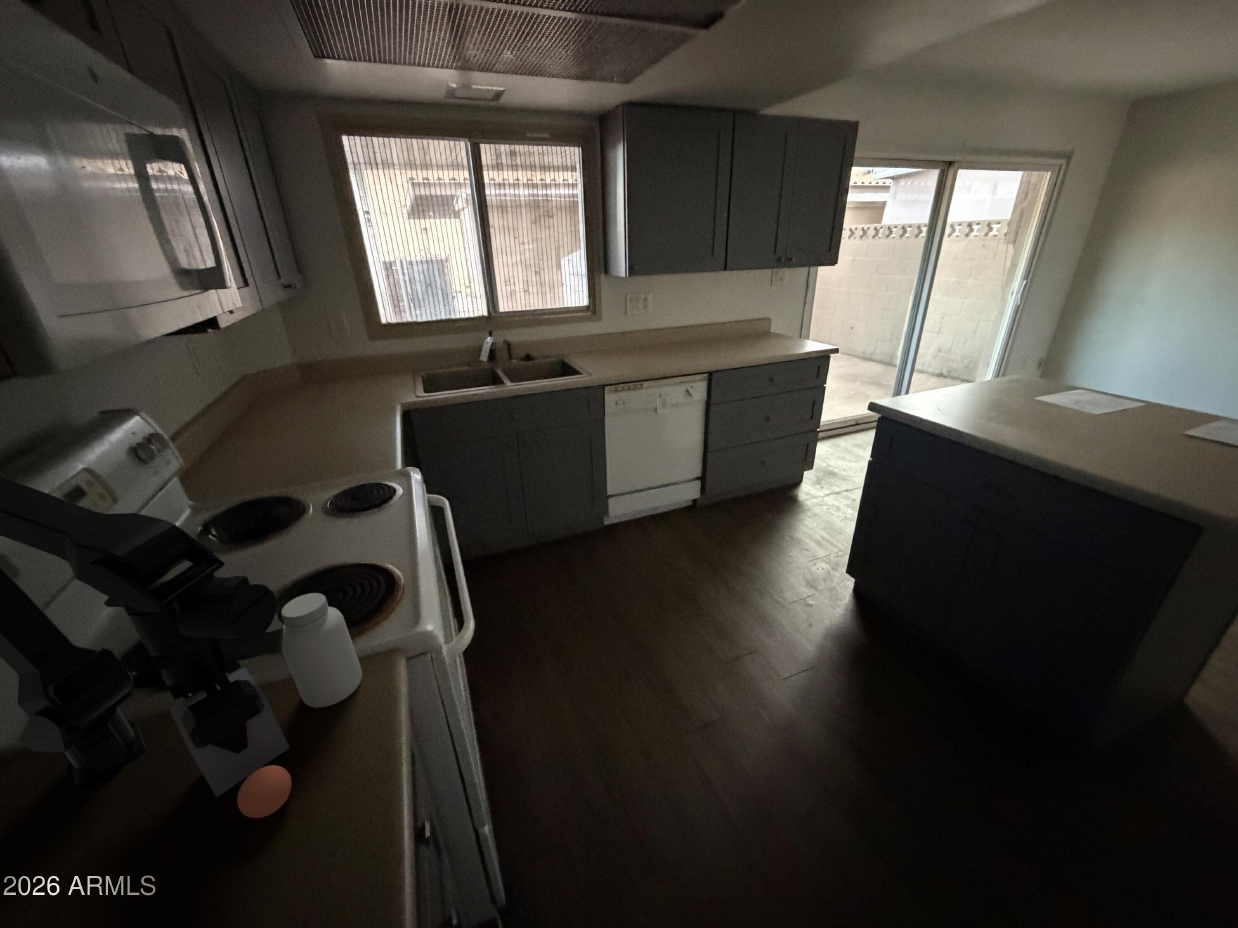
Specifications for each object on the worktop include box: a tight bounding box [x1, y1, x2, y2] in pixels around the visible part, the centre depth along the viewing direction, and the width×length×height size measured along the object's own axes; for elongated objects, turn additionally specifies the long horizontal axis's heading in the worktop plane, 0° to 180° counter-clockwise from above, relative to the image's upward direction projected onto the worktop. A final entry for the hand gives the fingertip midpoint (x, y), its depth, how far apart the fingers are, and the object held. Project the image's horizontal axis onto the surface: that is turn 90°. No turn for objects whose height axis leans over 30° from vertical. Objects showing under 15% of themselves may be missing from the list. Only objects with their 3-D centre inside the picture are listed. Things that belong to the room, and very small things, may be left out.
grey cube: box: [168, 667, 290, 798], centre depth 60 cm, size 8×8×9 cm
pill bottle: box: [280, 592, 363, 709], centre depth 70 cm, size 8×8×15 cm
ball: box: [236, 765, 292, 819], centre depth 56 cm, size 5×5×5 cm
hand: (231, 731), depth 60 cm, fingers closed on grey cube, 8 cm apart
